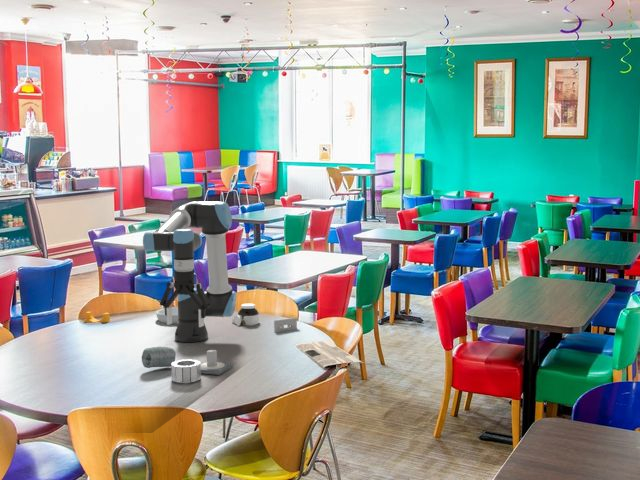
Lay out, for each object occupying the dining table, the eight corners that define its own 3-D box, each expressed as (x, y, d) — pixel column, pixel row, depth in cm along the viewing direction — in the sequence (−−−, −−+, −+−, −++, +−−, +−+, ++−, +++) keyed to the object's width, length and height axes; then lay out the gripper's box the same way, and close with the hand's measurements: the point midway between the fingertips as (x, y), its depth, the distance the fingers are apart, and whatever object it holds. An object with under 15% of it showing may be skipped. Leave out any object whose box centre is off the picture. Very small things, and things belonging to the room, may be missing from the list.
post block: (191, 372, 302) (191, 353, 301) (205, 364, 313) (205, 346, 312) (219, 375, 298) (218, 356, 297) (232, 366, 309) (231, 348, 308)
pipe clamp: (84, 325, 384) (83, 313, 384) (89, 324, 388) (88, 311, 388) (105, 327, 381) (104, 314, 380) (109, 325, 385) (109, 312, 384)
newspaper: (294, 349, 338) (294, 343, 338) (335, 345, 345) (335, 339, 345) (323, 371, 304) (323, 364, 304) (368, 366, 311) (368, 360, 310)
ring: (166, 381, 290) (166, 365, 289) (180, 373, 300) (180, 358, 300) (192, 383, 287) (191, 368, 286) (205, 375, 297) (205, 360, 296)
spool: (142, 368, 298) (151, 344, 299) (135, 362, 306) (143, 339, 307) (174, 376, 305) (182, 352, 306) (165, 370, 313) (173, 347, 314)
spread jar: (261, 327, 379) (261, 304, 378) (247, 332, 369) (246, 308, 368) (242, 324, 385) (241, 302, 384) (227, 329, 376) (227, 305, 374)
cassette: (295, 332, 368) (295, 317, 367) (297, 333, 366) (297, 317, 365) (273, 335, 361) (273, 320, 361) (275, 336, 360) (275, 320, 359)
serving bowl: (178, 317, 402) (177, 305, 401) (206, 322, 390) (206, 309, 389) (147, 325, 385) (147, 311, 384) (176, 330, 373) (176, 316, 372)
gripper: (149, 270, 289) (151, 325, 292) (209, 273, 281) (210, 329, 284) (160, 267, 296) (161, 320, 299) (218, 270, 288) (219, 325, 291)
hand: (185, 325), depth 291 cm, fingers open, 13 cm apart
